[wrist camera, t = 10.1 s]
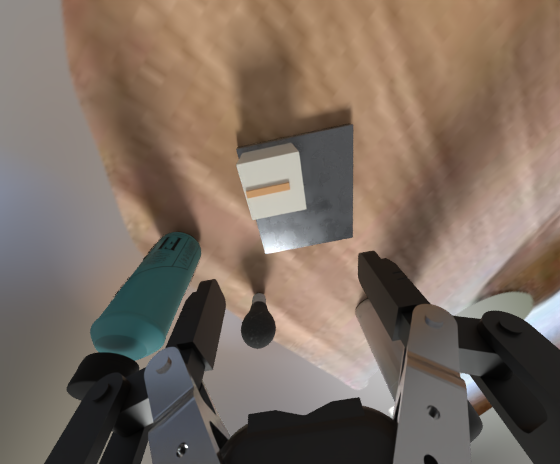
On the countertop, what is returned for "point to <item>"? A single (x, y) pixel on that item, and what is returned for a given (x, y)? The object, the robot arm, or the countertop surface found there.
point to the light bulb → (258, 324)
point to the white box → (272, 180)
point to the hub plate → (315, 191)
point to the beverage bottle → (139, 312)
